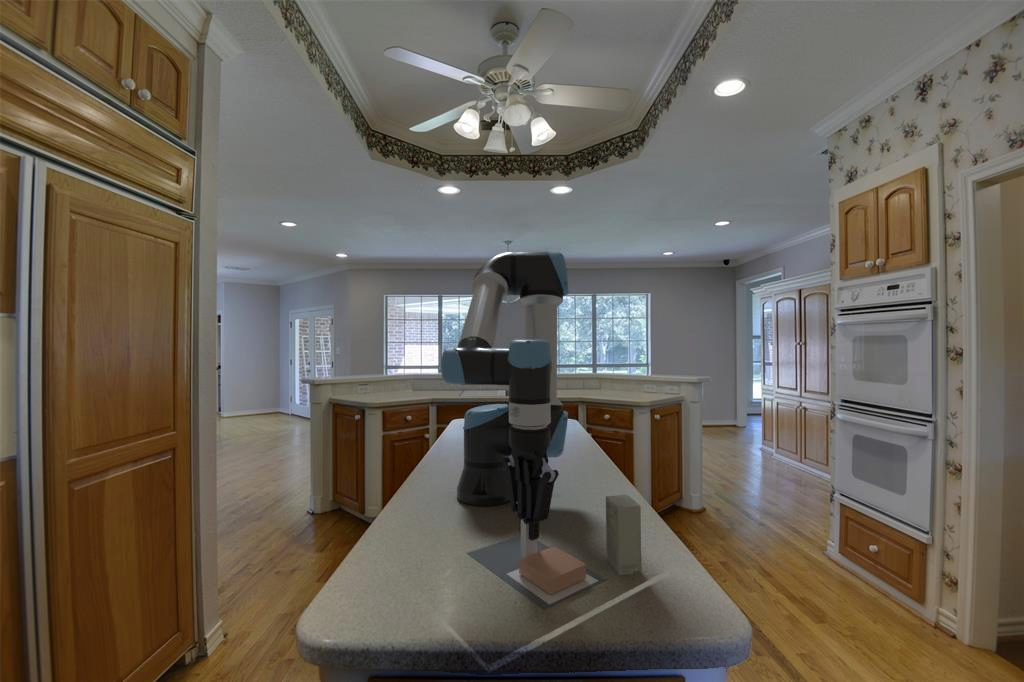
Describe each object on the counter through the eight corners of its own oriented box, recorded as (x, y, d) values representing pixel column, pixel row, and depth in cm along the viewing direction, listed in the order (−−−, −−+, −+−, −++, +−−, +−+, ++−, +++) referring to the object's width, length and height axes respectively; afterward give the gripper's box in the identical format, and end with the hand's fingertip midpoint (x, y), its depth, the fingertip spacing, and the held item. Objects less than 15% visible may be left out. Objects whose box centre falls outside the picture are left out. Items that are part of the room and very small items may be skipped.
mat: (466, 556, 85) (466, 552, 85) (524, 536, 94) (524, 533, 94) (544, 613, 68) (544, 609, 68) (606, 583, 76) (606, 579, 76)
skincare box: (642, 576, 78) (642, 506, 78) (617, 578, 77) (618, 508, 77) (627, 559, 84) (627, 494, 84) (604, 560, 84) (604, 495, 84)
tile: (519, 559, 77) (550, 579, 71) (553, 546, 82) (586, 564, 76) (519, 574, 77) (550, 596, 71) (553, 560, 82) (586, 579, 76)
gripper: (491, 421, 84) (491, 547, 85) (537, 434, 74) (537, 577, 75) (522, 417, 89) (522, 536, 89) (570, 428, 79) (569, 562, 79)
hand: (528, 554), depth 82 cm, fingers closed
